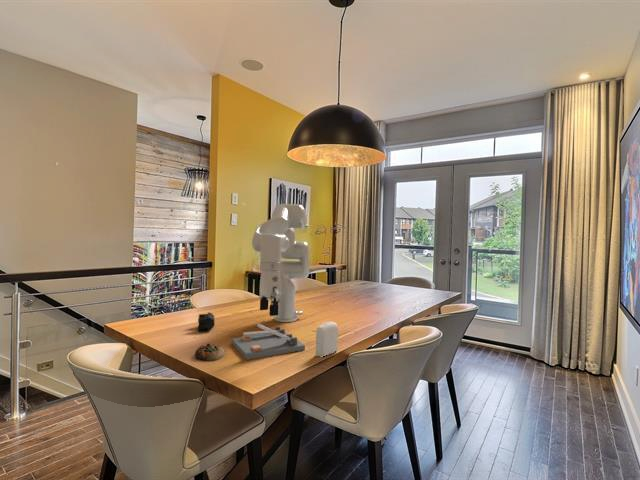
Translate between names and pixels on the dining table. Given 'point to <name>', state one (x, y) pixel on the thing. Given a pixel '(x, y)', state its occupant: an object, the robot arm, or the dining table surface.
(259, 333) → the strap
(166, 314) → the dining table surface
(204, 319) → the end cap
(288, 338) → the strap
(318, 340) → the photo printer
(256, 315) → the dining table surface
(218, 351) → the bread roll
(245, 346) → the clamp board
